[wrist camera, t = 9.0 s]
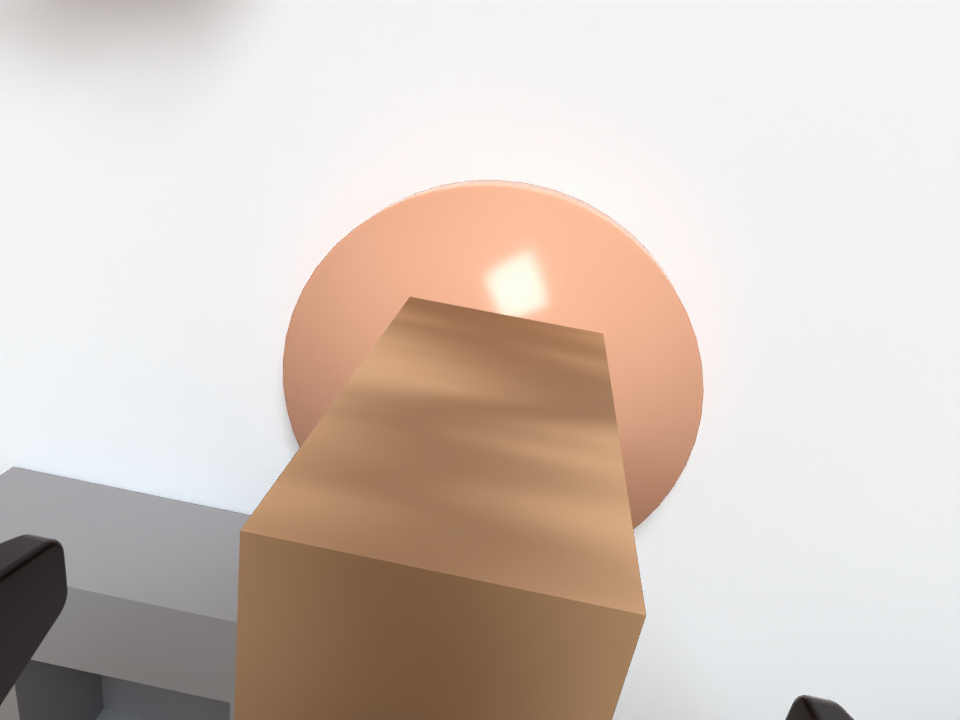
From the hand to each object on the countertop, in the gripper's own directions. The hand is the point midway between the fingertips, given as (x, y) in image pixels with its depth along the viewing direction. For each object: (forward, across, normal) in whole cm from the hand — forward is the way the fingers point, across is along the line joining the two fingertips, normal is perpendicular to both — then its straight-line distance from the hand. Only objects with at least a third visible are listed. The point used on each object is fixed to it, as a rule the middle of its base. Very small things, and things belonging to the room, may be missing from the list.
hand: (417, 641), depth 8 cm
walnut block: (+7, 0, 0) cm, 7 cm away
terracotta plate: (+8, 0, 0) cm, 8 cm away
